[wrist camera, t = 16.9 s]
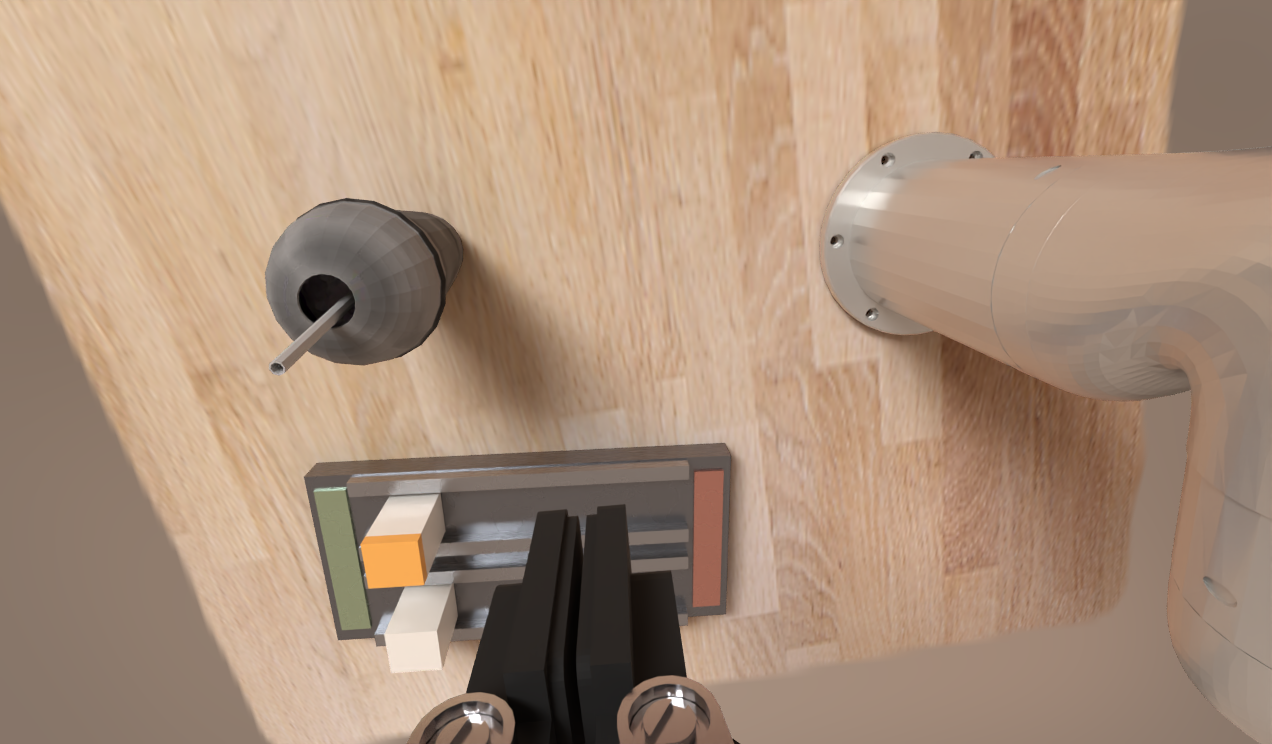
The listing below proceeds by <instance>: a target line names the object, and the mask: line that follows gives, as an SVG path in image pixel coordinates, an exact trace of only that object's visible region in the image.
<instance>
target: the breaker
mask: <svg viewBox="0 0 1272 744" xmlns="http://www.w3.org/2000/svg"><path fill="white" fill-rule="evenodd" d="M457 617H458V612H457V605H456V597H455V590H454V584H437V585H421V586H405V588H404V590H403V592H402V595H401V597H400V599H399V602H398V604H397V606H396V608H395V611H394V613H393V615H392V618H391V620H390V622H389V624H388V627H387V629H386V631H385V634H384V637H385V642H386V648H387V653H388V659H389V665H390V670H391V673H401V672H415V671H429V670H442V669H443V666H444V662H445V659H446V655H447V652H448V649H449V645H450V642H451V638H452V635H453V631H454V628H455V624H456V621H457Z"/></svg>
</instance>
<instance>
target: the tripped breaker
mask: <svg viewBox="0 0 1272 744" xmlns="http://www.w3.org/2000/svg"><path fill="white" fill-rule="evenodd" d="M445 531H446V530H445V523H444V515H443V508H442V500H441V493H421V494H402V495H390V496H389V498H388V500H387V501H386V503H385V505H384V506H383V508H382V510H381V511H380V513H379V514H378V516H377V518H376V519H375V521H374V523H373V524H372V526H371V528H370V529H369V531H368V533H367V534H366V536H365V538H364V539H363V541H362V543H361V544H360V545H361V550H362V556H363V561H364V567H365V572H366V578H367V583H368V589H370V588H387V587H403V586H419V585H424V584H425V582H426V579H427V577H428V574H429V572H430V569H431V566H432V564H433V561H434V559H435V556H436V554H437V551H438V549H439V546H440V543H441V541H442V538H443V536H444V533H445Z"/></svg>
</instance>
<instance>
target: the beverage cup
mask: <svg viewBox="0 0 1272 744" xmlns="http://www.w3.org/2000/svg"><path fill="white" fill-rule="evenodd" d="M462 261H463V247H462V243H461V240H460V237H459V235H458V234H457V232H456V231H455V229H454V228H453V227H452V226H451V225H450V224H449V223H448V222H446V221H445V220H444V219H442V218H440V217H437V216H435V215H433V214H428V213H423V212H414V211H400V210H394V209H391V208H389V207H387V206H385V205H382V204H380V203H378V202H375V201H368V200H359V199H350V198H345V199H340V200H336V201H331V202H326V203H322V204H319V205H318V206H316V207H314V208H313V209H311V210H310V211H308V212H306V213H305V214H303V215H302V216H300V217H298V218H297V220H296V221H295V222H293V223H291V224H290V225H289V226H288V227H287V229H286V230H285V231H284V233H283V234H282V235H281V237H280V238H279V239H278V241H277V242H276V243H275V245H274V246H273V248H272V251H271V254H270V258H269V261H268V265H267V268H266V272H265V279H266V293H267V299H268V301H269V304H270V306H271V309H272V311H273V314H274V316H275V319H276V320H277V322H278V323H279V324H280V325H281V327H282V328H283V329H284V330H285V332H286V333H287V334H288V336H289V337H290V338H291V339H292V340H293V341H294V342H293V343H292V344H291V345H290V346H288V347H287V348H286V349H285V350H284V351H283V352H282V353H281V354H280V355H278V356H277V357H276V358H275V359H274V360H273V361H272V362H271V363H270V364H269V370H270V371H271V372H272V373H273V374H275V375H281V374H283V373H285V372H286V371H287V370H288V369H289V368H290V367H291V366H292V365H293V364H294V363H295V362H296V361H297V360H298V359H299V358H300V357H301V356H302V355H303V354H304V353H305V352H307V351H308V352H310V353H311V354H313V355H316V356H318V357H321V358H324V359H326V360H329V361H332V362H334V363H341V364H353V365H368V364H373V363H377V362H382V361H387V360H391V359H394V358H398V357H402V356H403V355H405V354H407V353H408V352H410V351H412V350H413V349H415V348H417V347H419V346H420V345H422V344H423V343H424V341H425V340H426V339H427V338H428V337H429V335H430V334H431V333H432V332H433V331H434V329H435V328H436V327H437V325H438V322H439V320H440V317H441V314H442V312H443V309H444V306H445V298H446V294H447V292H448V290H449V289H450V287H451V285H452V284H453V282H454V280H455V279H456V277H457V275H458V272H459V269H460V266H461V264H462Z"/></svg>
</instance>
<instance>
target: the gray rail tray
mask: <svg viewBox="0 0 1272 744" xmlns="http://www.w3.org/2000/svg"><path fill="white" fill-rule="evenodd" d="M730 466H731V455H730V453H729V451H728V449H727V447H726V445H725V443H716V444H695V445H675V446H655V447H634V448H614V449H593V450H573V451H553V452H532V453H512V454H491V455H471V456H451V457H430V458H410V459H389V460H369V461H349V462H328V463H316V465H315V466H314V467H313V468H312V469H311V470H310V471H309V472H308V473H307V474H306V475H305V477H304V479H305V484H306V489H307V493H308V498H309V503H310V508H311V513H312V517H313V522H314V527H315V532H316V537H317V541H318V546H319V551H320V556H321V560H322V565H323V570H324V575H325V580H326V584H327V589H328V594H329V599H330V604H331V608H332V613H333V618H334V623H335V628H336V632H337V637H338V640H349V639H364V638H375V641H376V646H386V642H385V637H384V634H385V631H386V629H387V627H388V624H389V622H390V620H391V618H392V615H393V613H394V611H395V608H396V606H397V604H398V602H399V599H400V597H401V595H402V592H403V590H404V588H405V586H403V587H387V588H370V589H368V583H367V578H366V572H365V567H364V561H363V556H362V550H361V545H360V544H361V543H362V541H363V539H364V538H365V536H366V534H367V533H368V531H369V529H370V528H371V526H372V524H373V523H374V521H375V519H376V518H377V516H378V514H379V513H380V511H381V510H382V508H383V506H384V505H385V503H386V501H387V500H388V498H389V496H390V495H402V494H421V493H441V500H442V508H443V515H444V523H445V530H446V531H445V533H444V536H443V538H442V541H441V543H440V546H439V549H438V551H437V554H436V556H435V559H434V561H433V564H432V566H431V569H430V572H429V574H428V577H427V579H426V582H425V584H424V585H437V584H454V590H455V597H456V605H457V612H458V617H457V621H456V624H455V628H454V631H453V635H452V638H451V641H464V640H479V639H481V637H482V634H483V630H484V626H485V623H486V619H487V615H488V612H489V608H490V605H491V601H492V597H493V594H494V591H495V588H496V587H497V586H498V585H504V584H516V583H522V582H523V577H524V572H525V568H526V563H527V558H528V554H529V549H530V544H531V540H532V535H533V531H534V526H535V521H536V517H537V513H538V512H539V511H550V510H562V509H567V511H568V516H569V517H570V516H578V517H579V522H580V530H581V538H582V547H583V555H584V543H585V529H586V517H587V515H593V514H597V507H598V506H609V505H621V504H625V505H626V515H627V525H628V536H629V547H630V558H631V569H632V573H644V572H655V571H667V570H671V572H672V579H673V586H674V592H675V599H676V606H677V613H678V620H679V626H685V625H688V617H693V616H708V615H723V614H726V591H727V560H728V528H729V497H730ZM419 586H421V585H419Z"/></svg>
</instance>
